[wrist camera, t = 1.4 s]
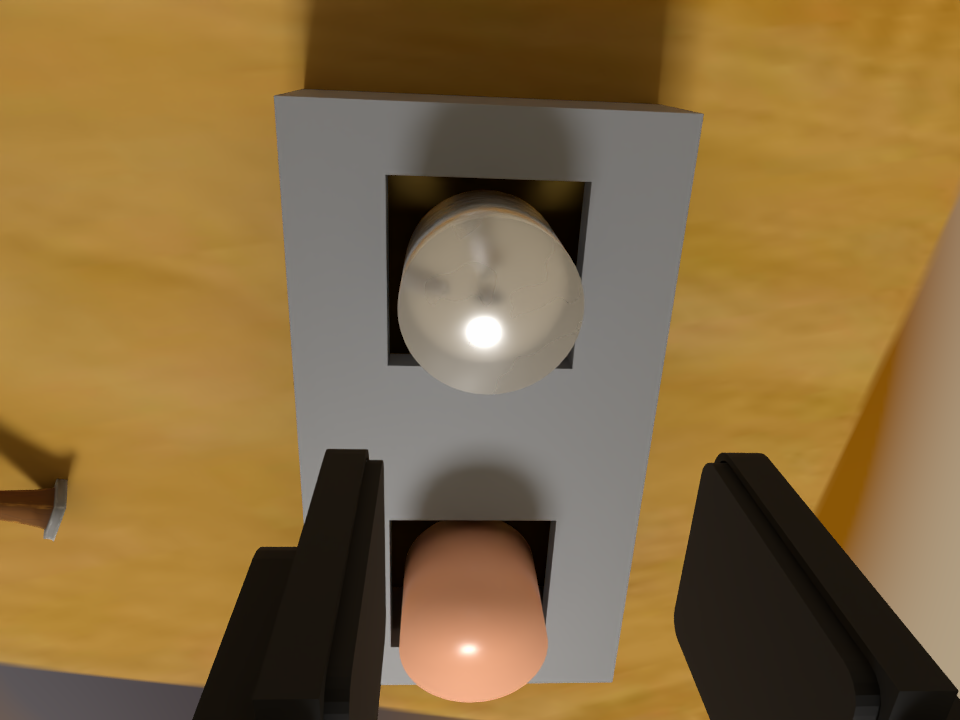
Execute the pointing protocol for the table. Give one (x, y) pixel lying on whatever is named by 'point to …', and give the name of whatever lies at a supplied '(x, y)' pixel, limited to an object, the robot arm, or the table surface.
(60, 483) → the wooden post with brackets
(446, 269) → the cream short cylinder
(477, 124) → the button housing
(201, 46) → the table surface
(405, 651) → the terracotta plunger
